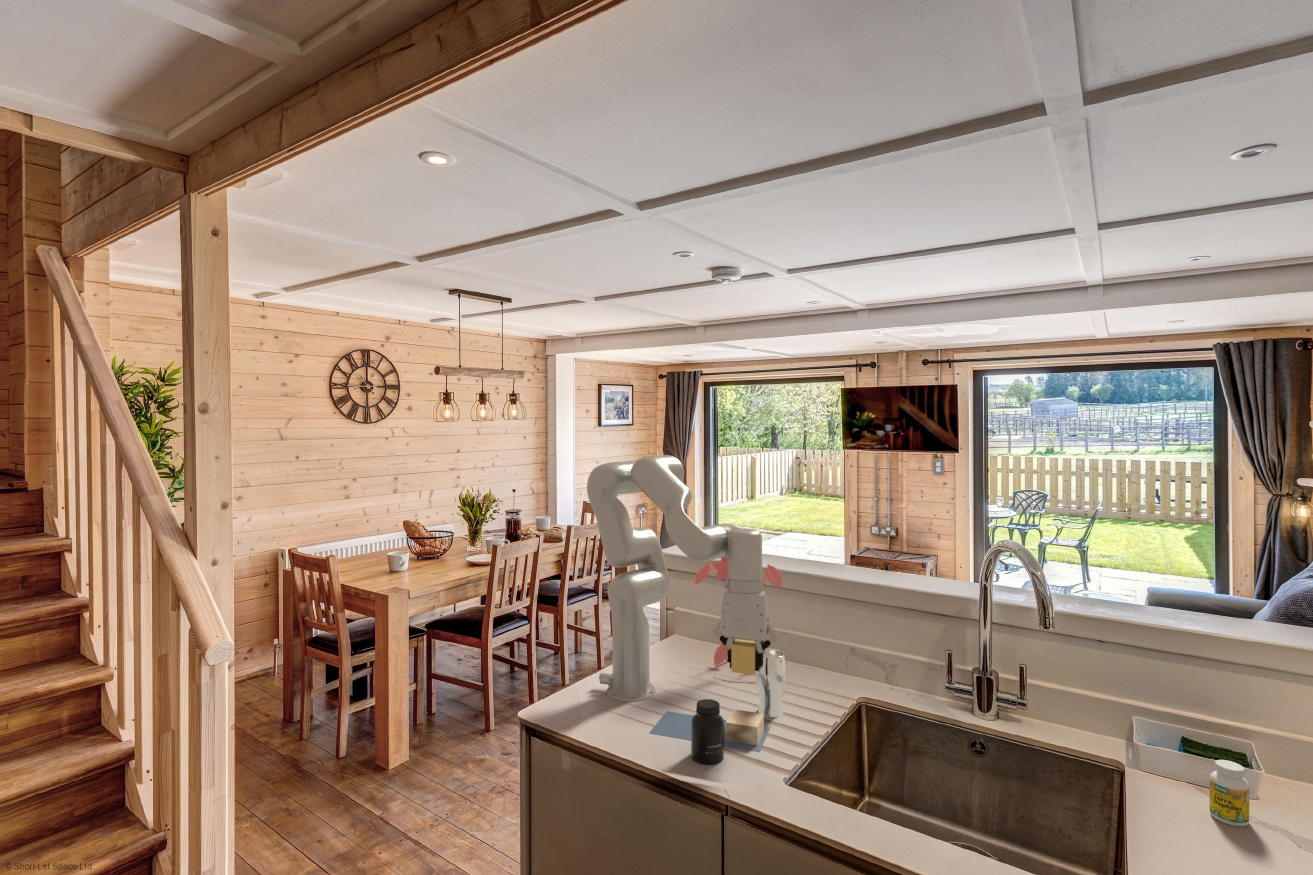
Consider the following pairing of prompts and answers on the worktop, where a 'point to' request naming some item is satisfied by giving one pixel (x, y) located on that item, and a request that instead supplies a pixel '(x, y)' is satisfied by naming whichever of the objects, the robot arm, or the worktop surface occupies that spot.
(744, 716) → the beech base block
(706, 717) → the supplement bottle
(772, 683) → the beer glass
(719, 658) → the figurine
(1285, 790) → the worktop surface
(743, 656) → the mustard block
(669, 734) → the board
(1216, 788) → the supplement bottle
